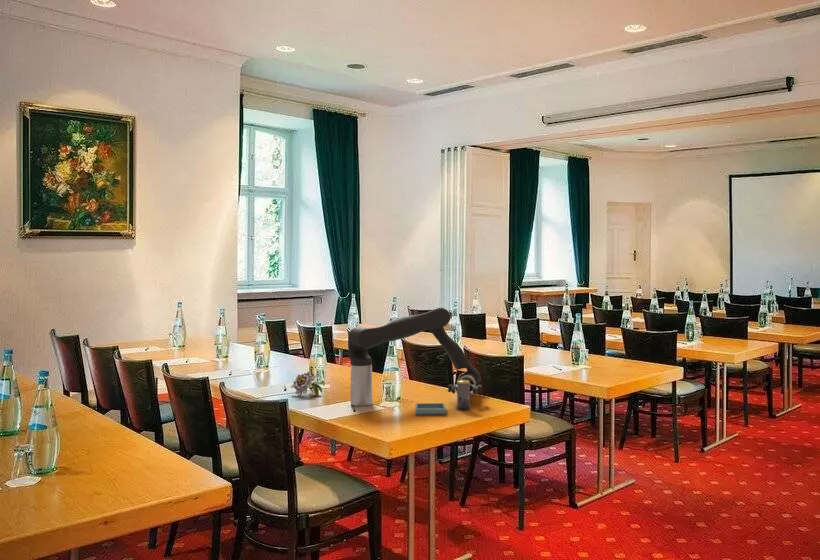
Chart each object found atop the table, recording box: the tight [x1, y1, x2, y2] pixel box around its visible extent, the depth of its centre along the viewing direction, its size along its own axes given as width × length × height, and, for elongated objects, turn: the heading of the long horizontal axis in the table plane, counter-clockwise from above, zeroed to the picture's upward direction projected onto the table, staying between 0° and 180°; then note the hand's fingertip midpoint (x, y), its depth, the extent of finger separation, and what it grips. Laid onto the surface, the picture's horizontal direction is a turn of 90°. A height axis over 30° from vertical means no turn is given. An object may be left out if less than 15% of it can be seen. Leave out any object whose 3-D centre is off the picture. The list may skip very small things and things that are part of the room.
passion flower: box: [290, 370, 325, 398], centre depth 335 cm, size 13×12×14 cm
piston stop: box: [456, 379, 471, 412], centre depth 301 cm, size 5×5×12 cm
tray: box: [414, 402, 447, 417], centre depth 296 cm, size 12×12×2 cm
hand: (463, 391), depth 304 cm, fingers open, 8 cm apart
